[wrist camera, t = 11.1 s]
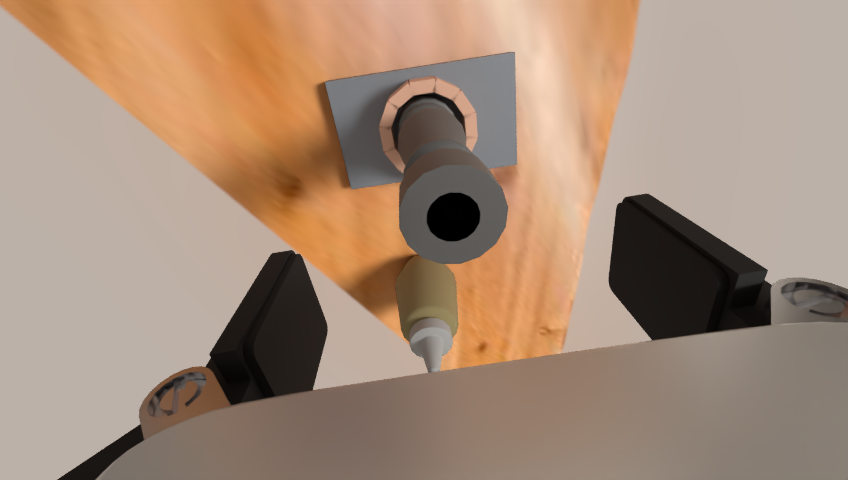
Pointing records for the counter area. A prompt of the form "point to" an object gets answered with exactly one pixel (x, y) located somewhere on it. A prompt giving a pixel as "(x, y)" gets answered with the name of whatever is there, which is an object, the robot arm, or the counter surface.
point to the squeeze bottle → (427, 309)
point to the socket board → (390, 91)
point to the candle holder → (445, 187)
